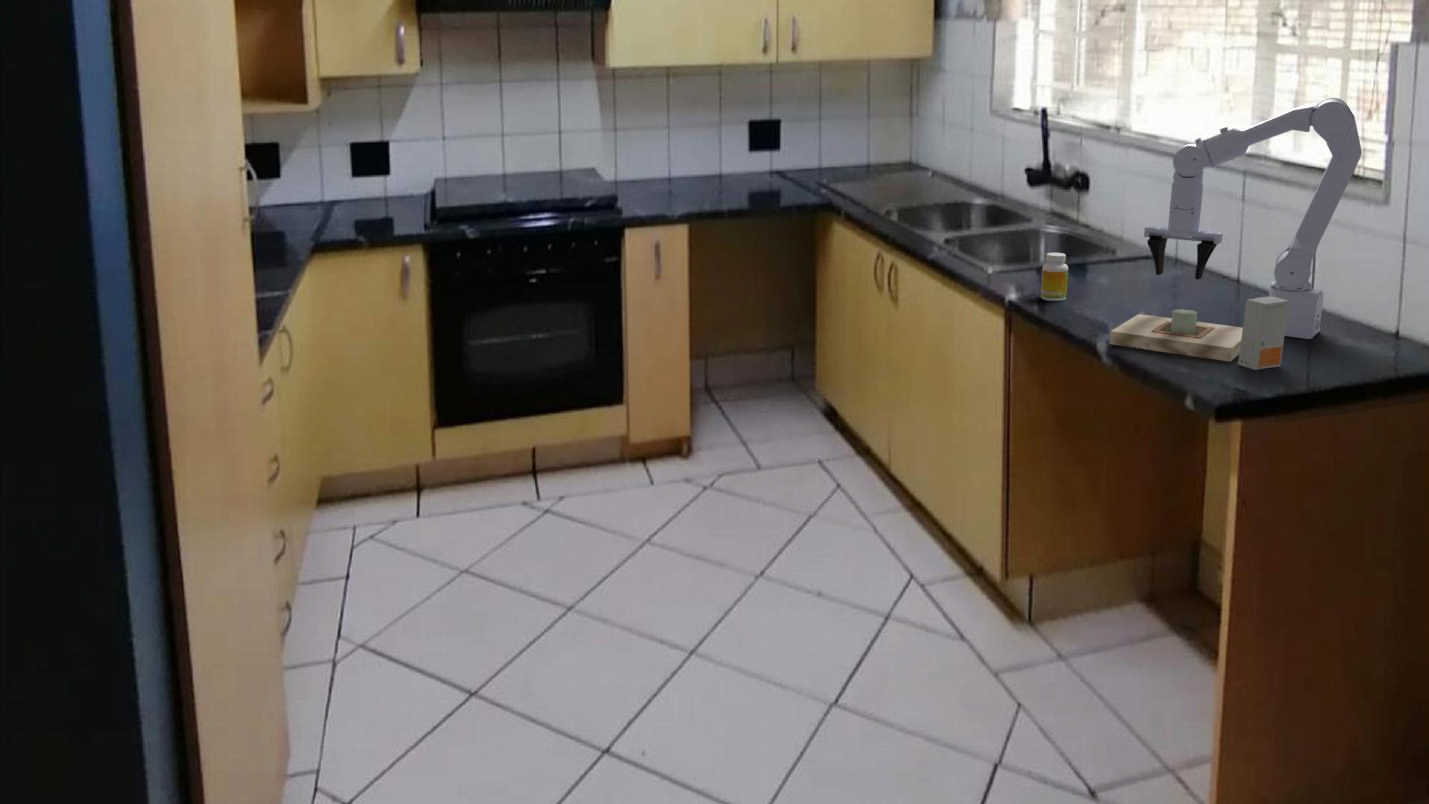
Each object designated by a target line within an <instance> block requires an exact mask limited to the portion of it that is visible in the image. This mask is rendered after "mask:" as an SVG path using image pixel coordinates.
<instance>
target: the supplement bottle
mask: <svg viewBox="0 0 1429 804" xmlns="http://www.w3.org/2000/svg"><path fill="white" fill-rule="evenodd" d="M1066 258H1067V255H1066V254H1065V253H1063V252H1047V253H1046V258H1045V259H1046V262H1045V263H1044V264H1042V269H1041V285H1040V298H1041V299H1042V300H1044V301H1048V302H1060V301H1066V298H1067V294H1068V293H1067V292H1068V278H1069V277H1068V276H1069V266H1068V265H1067V264H1066V263H1065V262H1066Z"/></svg>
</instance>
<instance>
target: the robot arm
mask: <svg viewBox="0 0 1429 804" xmlns="http://www.w3.org/2000/svg"><path fill="white" fill-rule="evenodd" d="M1356 122H1357V121H1356V118H1355V115H1354V113H1353V112H1352V109H1350V106H1348V104H1347V103H1346V101H1344V100H1342V99H1341V98H1337V97H1329V98H1325V99H1322V100H1321V101H1319V102H1318V103H1317V101H1315V102H1312V103H1308V104H1305V105H1301V106H1297V107H1295V108H1292V109H1289V110H1287V111H1284V112H1282V113H1280V114H1278V115H1276V116H1273V117H1271V118H1269V119H1267V120H1264V121H1262V122H1260V123H1257V124H1255V125H1252V126H1250V127H1247V128H1245V129H1242V128H1238V127H1237V126H1232V127H1228V126H1223V127H1221V128H1219V132H1216V133H1214V134H1211V135H1210V136H1209V135H1208V136H1207V137H1205V138H1201V137H1198V138H1196V139H1195V140H1194V143H1188V144H1185V145H1183V146H1181V148H1179V150H1178V151H1176V153H1175V154H1174V156H1173V161H1172V165H1173V170H1174V173H1173V176H1172V179H1173V182H1172V184H1171V191H1170V192H1171V193H1170V203H1169V214H1168V226H1158V225H1147V226H1145V227H1144V232H1143V238H1148V240H1146V241H1147V245H1148V247H1149V251H1150V252H1151V255H1152V259H1153V263H1154V267H1155V276H1156V275H1157V276H1160V275H1162V274H1163V272H1164V267H1165V266H1164V264H1165V261H1164V260H1165V252H1166V247H1167V243H1168V239H1170V240H1179V241H1190V242H1191V241H1192V242H1199V243H1198V244H1197V246H1196V250H1197V254H1196V256H1197V257H1196V268H1195V269H1196V270H1195V276H1194V277H1195V278H1194V279H1195V280H1201V279H1202V278H1203V274H1204V271H1205V268H1206V266H1207V263H1208V261H1209V259H1210V258H1211V255H1212V253H1213V252H1214V251H1215V249H1216V247H1217V245H1219V244H1221V243H1223V234H1224V233H1223V232H1218V231H1212V230H1206V229H1200V223H1201V222H1200V221H1201V212H1202V202H1203V192H1204V191H1203V190H1204V183H1203V178H1204V169H1205V168H1214V167H1217V166H1219V165H1222V164H1225V163H1227V162H1230V161H1233V160H1234V159H1237V158H1241V157H1243V156H1244V155H1246V153H1247V151H1248V149H1249V147H1250V146H1252V145H1254V144H1257V143H1259V142H1263V141H1265V140H1269V139H1271V138H1274V137H1277V136H1280V135H1283V134H1285V133H1288V132H1291V131H1298V132H1305V133H1310V128H1311V127H1312V128H1313V130H1314V132H1316V134H1317V135H1318V136H1320V137H1321V138H1322V139H1323V141H1325V142H1326V146H1327V148H1328V149H1329V152H1330V153H1331V158H1330V161H1329V162H1328V164H1327V167H1326V168H1325V170H1324V172H1323V175H1322V177H1321V179H1320V181H1319V183H1318V185H1317V188H1316V189H1315V192H1314V193H1313V196H1312V197H1311V200H1310V202H1309V204H1308V207H1307V209H1306V210H1305V213H1304V215H1303V217H1302V219H1301V222H1300V224H1299V225H1298V228H1297V229H1296V231H1295V233H1294V235H1293V237H1292V239H1291V241H1290V243H1289V245H1288V246H1287V247H1286V249H1285V250H1283V251H1281V253H1280V254H1278V256H1277V258H1276V261H1275V267H1274V272H1273V276H1274V280H1273V281H1271V282H1270V286H1269V294H1268V297H1270V296H1273V297H1276V298H1280V299H1284V300H1287V301H1289V307H1288V314H1287V321H1286V328H1285V336H1284V337H1290V338H1298V339H1305V340H1312V339H1313V338H1314V337H1315V336H1316V335H1317V334H1319V332H1320V331H1321V327H1320V326H1321V321H1322V320H1321V319H1322V312H1323V311H1322V310H1323V306H1324V305H1323V303H1324V291H1323V290H1319V289H1314V288H1312V283H1311V282H1309V280H1310V278H1311V275H1312V273H1311V272H1312V270H1311V268H1312V262H1313V259H1314V258H1315V254H1316V253H1317V251H1318V248H1319V245H1320V242H1321V240H1322V238H1323V236H1324V234H1325V232H1326V230H1327V227H1328V226H1329V224H1330V221H1331V219H1332V217H1333V216H1334V213H1335V211H1336V209H1337V207H1338V205H1339V203H1340V201H1341V199H1342V196H1343V194H1344V192H1345V190H1346V188H1347V186H1348V184H1349V182H1350V180H1351V177H1352V176H1353V174H1354V172H1355V170H1356V167H1357V166H1358V163H1359V162H1360V159H1361V158H1362V157H1361V156H1362V154H1363V152H1362V147H1361V141H1360V137H1359V135H1360V134H1359V132H1358V126H1357V123H1356Z"/></svg>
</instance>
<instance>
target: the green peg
mask: <svg viewBox="0 0 1429 804" xmlns="http://www.w3.org/2000/svg"><path fill="white" fill-rule="evenodd" d="M1171 313H1172V314H1171V318H1172V321H1171V331H1170V332H1172V333H1180V334H1187V335H1194V336H1195V331H1196V322H1198V321H1197V319H1198V312H1197V311H1195V310H1191V309H1174V310H1172V312H1171Z"/></svg>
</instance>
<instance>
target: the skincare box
mask: <svg viewBox="0 0 1429 804" xmlns="http://www.w3.org/2000/svg"><path fill="white" fill-rule="evenodd" d="M1288 307H1289V301H1287V300H1284V299H1280V298H1276V297H1273V296H1270V297H1269V296H1261V297H1255V298H1250V299H1249V298H1248V299H1246V300H1245V307H1244V317H1243V324H1242V328H1243V330H1242V338H1241V346H1240V353H1239V355H1238V363H1237V364H1238V365H1239V366H1241V367H1245V368H1247V369H1251V370H1254V371H1258V370H1265V369H1270V368H1280V367H1281V363H1282V357H1283V356H1282V355H1283V349H1284V342H1285V341H1284V340H1285V337H1286V336H1285V328H1286V321H1287V314H1288Z"/></svg>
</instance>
